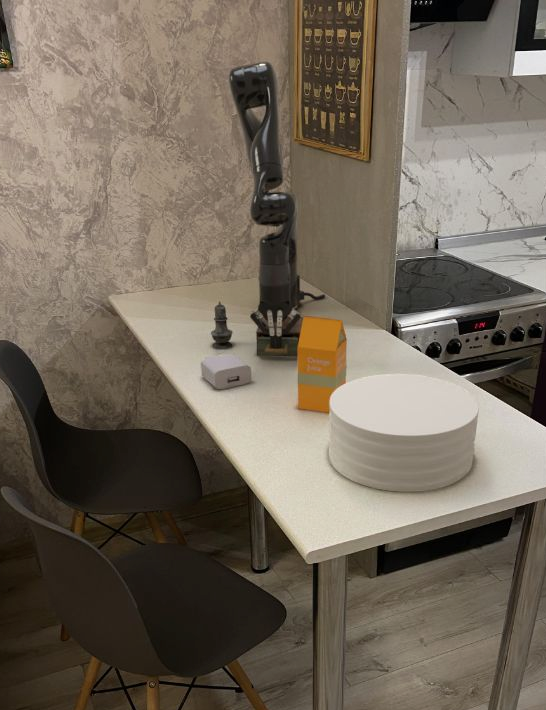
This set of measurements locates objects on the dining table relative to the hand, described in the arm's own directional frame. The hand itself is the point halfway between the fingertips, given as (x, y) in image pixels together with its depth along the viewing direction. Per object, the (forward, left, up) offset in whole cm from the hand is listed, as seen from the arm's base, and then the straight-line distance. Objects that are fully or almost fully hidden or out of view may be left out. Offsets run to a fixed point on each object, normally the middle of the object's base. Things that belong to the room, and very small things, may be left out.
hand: (276, 349), depth 189 cm
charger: (+15, -3, -4) cm, 16 cm away
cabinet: (-8, -8, -4) cm, 12 cm away
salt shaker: (+2, -20, -4) cm, 20 cm away
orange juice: (+8, +26, -4) cm, 28 cm away
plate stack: (+13, +54, -4) cm, 56 cm away
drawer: (-4, -4, -3) cm, 7 cm away
